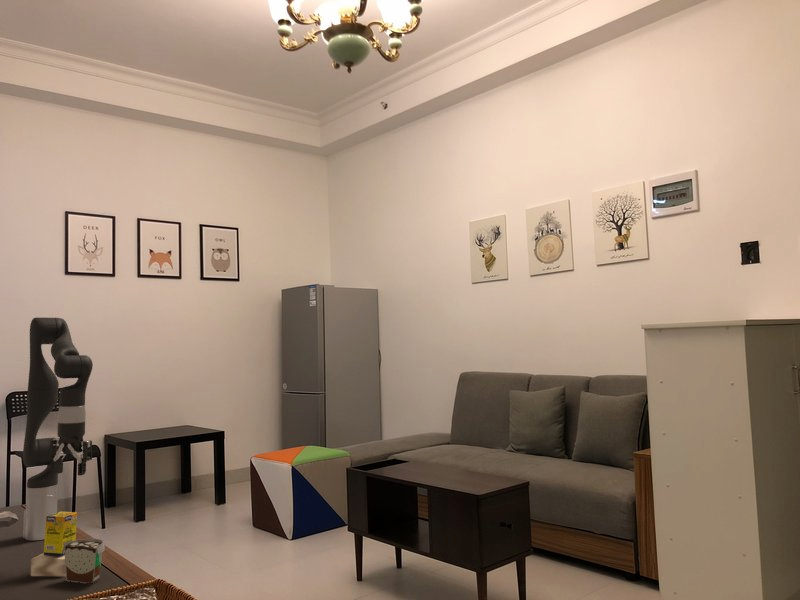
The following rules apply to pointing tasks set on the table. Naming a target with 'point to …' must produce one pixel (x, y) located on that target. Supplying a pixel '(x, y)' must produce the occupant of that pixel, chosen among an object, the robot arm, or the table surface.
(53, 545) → the supplement box
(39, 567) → the birch block
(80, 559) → the food container
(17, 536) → the table surface
